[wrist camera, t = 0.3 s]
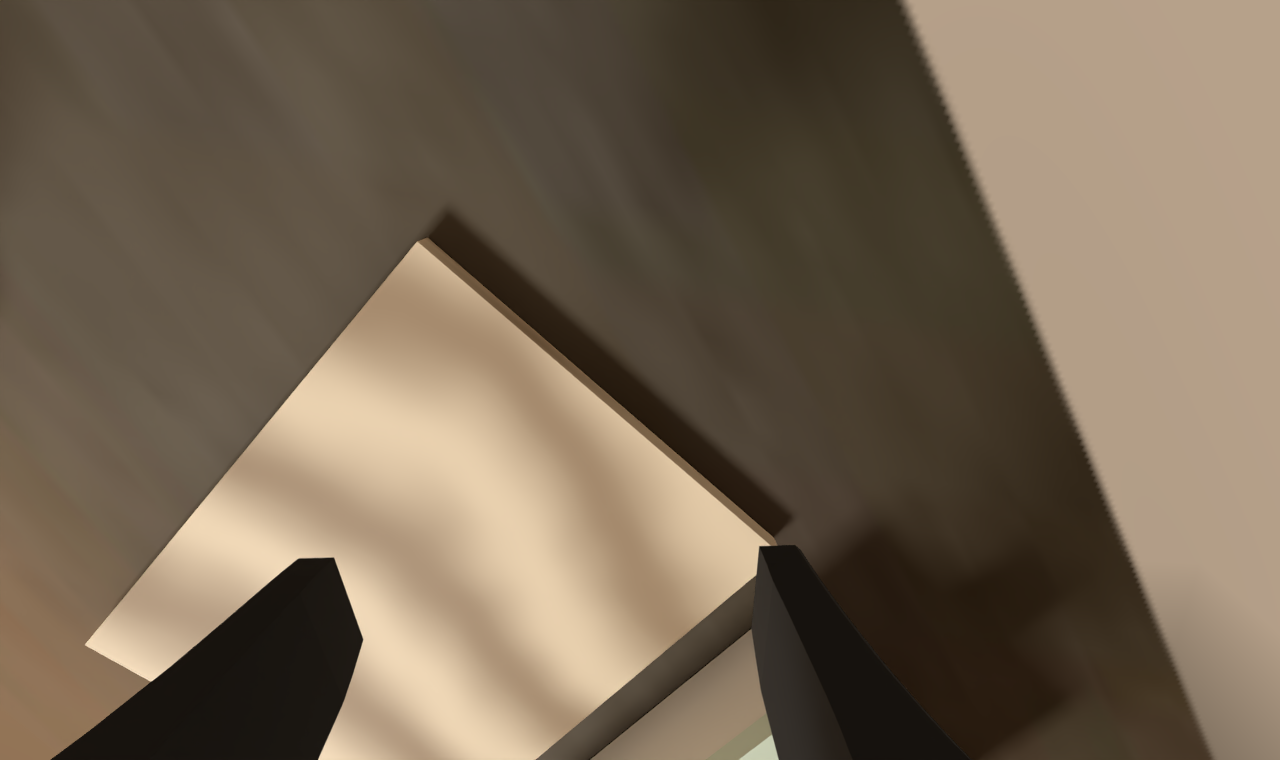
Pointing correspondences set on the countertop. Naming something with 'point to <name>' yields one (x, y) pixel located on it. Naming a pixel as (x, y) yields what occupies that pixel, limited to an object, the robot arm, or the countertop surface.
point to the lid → (750, 744)
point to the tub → (698, 712)
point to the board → (454, 530)
